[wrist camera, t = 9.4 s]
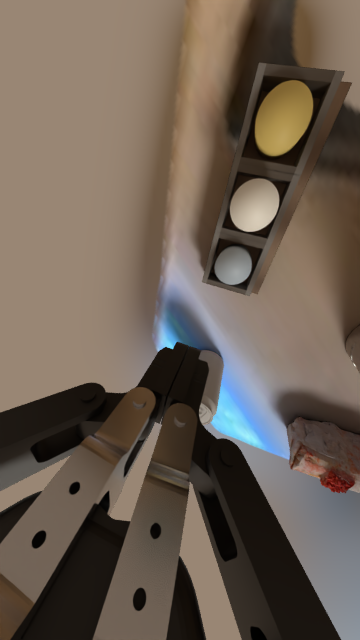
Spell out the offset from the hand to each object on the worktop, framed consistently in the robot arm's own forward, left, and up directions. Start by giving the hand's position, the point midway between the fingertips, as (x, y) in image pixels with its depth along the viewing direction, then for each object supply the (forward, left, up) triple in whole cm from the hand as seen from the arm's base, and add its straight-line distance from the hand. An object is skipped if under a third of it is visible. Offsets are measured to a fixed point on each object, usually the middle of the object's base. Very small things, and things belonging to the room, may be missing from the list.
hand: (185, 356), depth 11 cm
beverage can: (+8, +17, -21) cm, 29 cm away
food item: (-9, +38, -21) cm, 44 cm away
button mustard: (-9, -11, -18) cm, 23 cm away
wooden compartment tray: (-6, -6, -21) cm, 22 cm away
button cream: (-5, -6, -16) cm, 18 cm away
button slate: (-2, -1, -18) cm, 18 cm away
